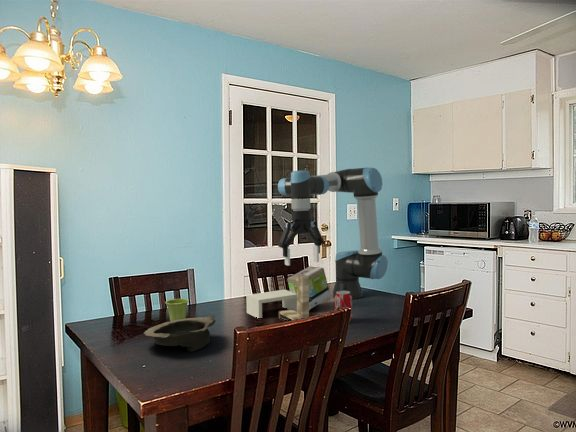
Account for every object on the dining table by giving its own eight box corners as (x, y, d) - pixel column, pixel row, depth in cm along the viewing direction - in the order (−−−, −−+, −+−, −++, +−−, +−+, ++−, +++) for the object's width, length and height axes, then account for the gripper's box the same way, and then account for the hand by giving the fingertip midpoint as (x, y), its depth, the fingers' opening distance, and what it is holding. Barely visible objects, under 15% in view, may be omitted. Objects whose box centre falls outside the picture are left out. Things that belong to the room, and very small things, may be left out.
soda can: (351, 323, 177) (351, 294, 176) (334, 323, 178) (333, 293, 178) (352, 319, 184) (352, 290, 183) (335, 318, 185) (335, 290, 185)
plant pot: (161, 323, 182) (160, 303, 182) (174, 317, 191) (174, 298, 191) (180, 325, 179) (180, 304, 179) (193, 319, 188) (192, 299, 188)
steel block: (290, 317, 190) (290, 315, 190) (297, 320, 186) (296, 318, 186) (279, 319, 188) (279, 316, 187) (285, 322, 183) (285, 320, 183)
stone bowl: (223, 351, 147) (220, 324, 147) (144, 366, 140) (141, 338, 140) (213, 329, 171) (211, 306, 170) (146, 341, 164) (143, 317, 163)
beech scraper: (312, 325, 176) (312, 275, 174) (299, 327, 173) (299, 277, 171) (290, 315, 190) (290, 269, 189) (278, 317, 187) (278, 270, 186)
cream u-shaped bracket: (285, 306, 207) (284, 289, 207) (299, 311, 197) (298, 294, 197) (246, 312, 197) (246, 295, 197) (259, 318, 187) (258, 300, 186)
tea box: (309, 311, 195) (300, 280, 192) (294, 308, 202) (285, 278, 200) (331, 296, 204) (323, 266, 201) (316, 293, 212) (308, 265, 209)
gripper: (321, 208, 184) (322, 259, 185) (268, 211, 171) (270, 265, 172) (332, 209, 178) (332, 261, 179) (278, 211, 165) (279, 267, 166)
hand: (302, 263), depth 176 cm, fingers open, 13 cm apart
